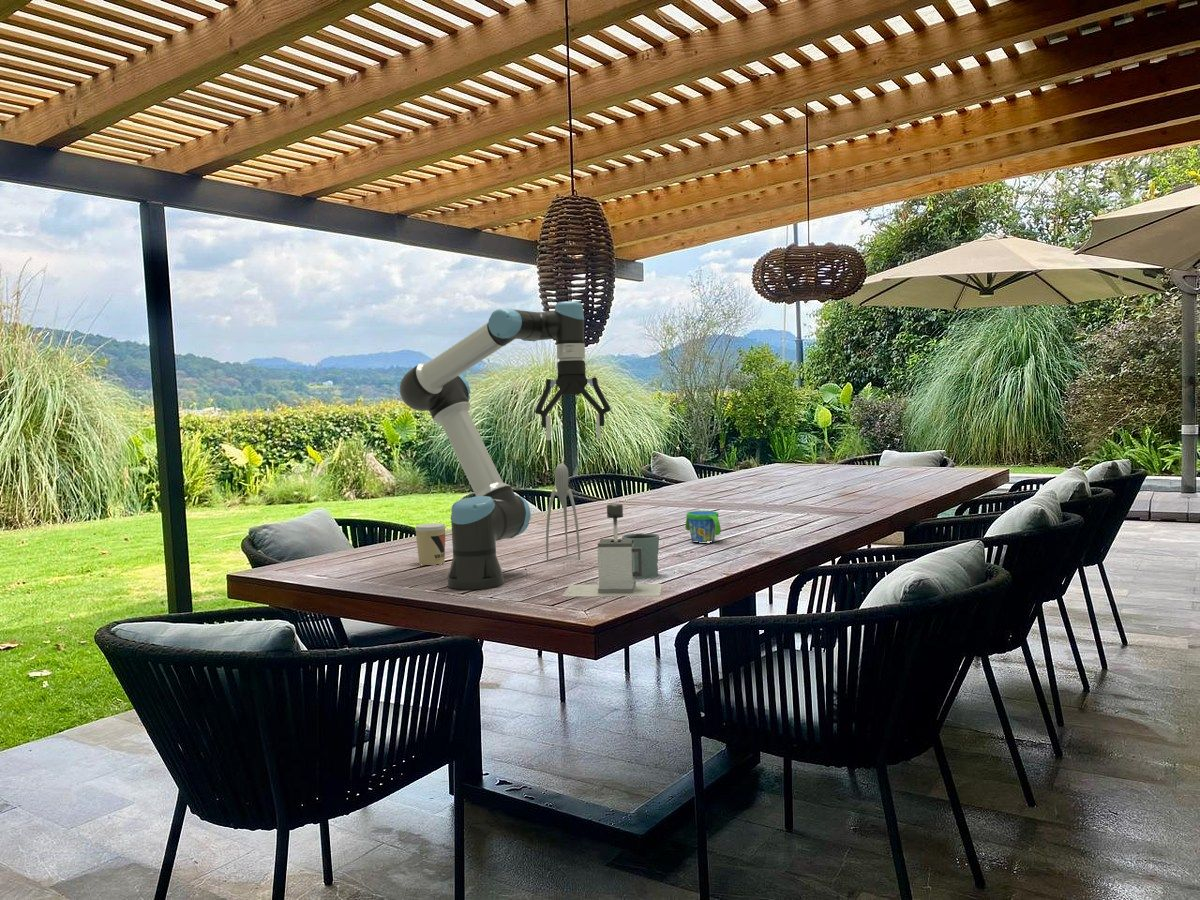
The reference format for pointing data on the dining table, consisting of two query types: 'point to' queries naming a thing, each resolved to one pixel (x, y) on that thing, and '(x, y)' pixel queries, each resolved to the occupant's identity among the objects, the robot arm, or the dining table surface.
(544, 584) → the dining table surface
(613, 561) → the block
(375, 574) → the dining table surface
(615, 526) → the plunger
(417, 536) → the coffee cup
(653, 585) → the plate
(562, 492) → the juicer
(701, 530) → the snack cup
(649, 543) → the green mug
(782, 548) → the dining table surface
